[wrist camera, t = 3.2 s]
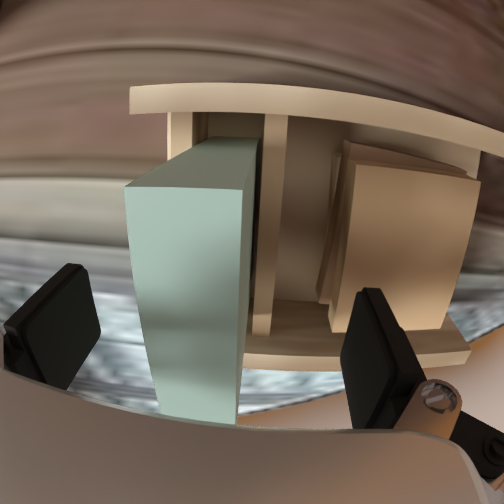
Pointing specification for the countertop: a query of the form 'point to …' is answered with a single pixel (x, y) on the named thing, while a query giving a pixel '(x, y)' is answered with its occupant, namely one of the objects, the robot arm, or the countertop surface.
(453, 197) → the offcut
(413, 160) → the offcut
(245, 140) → the pale green slab
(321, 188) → the rack
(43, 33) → the countertop surface
